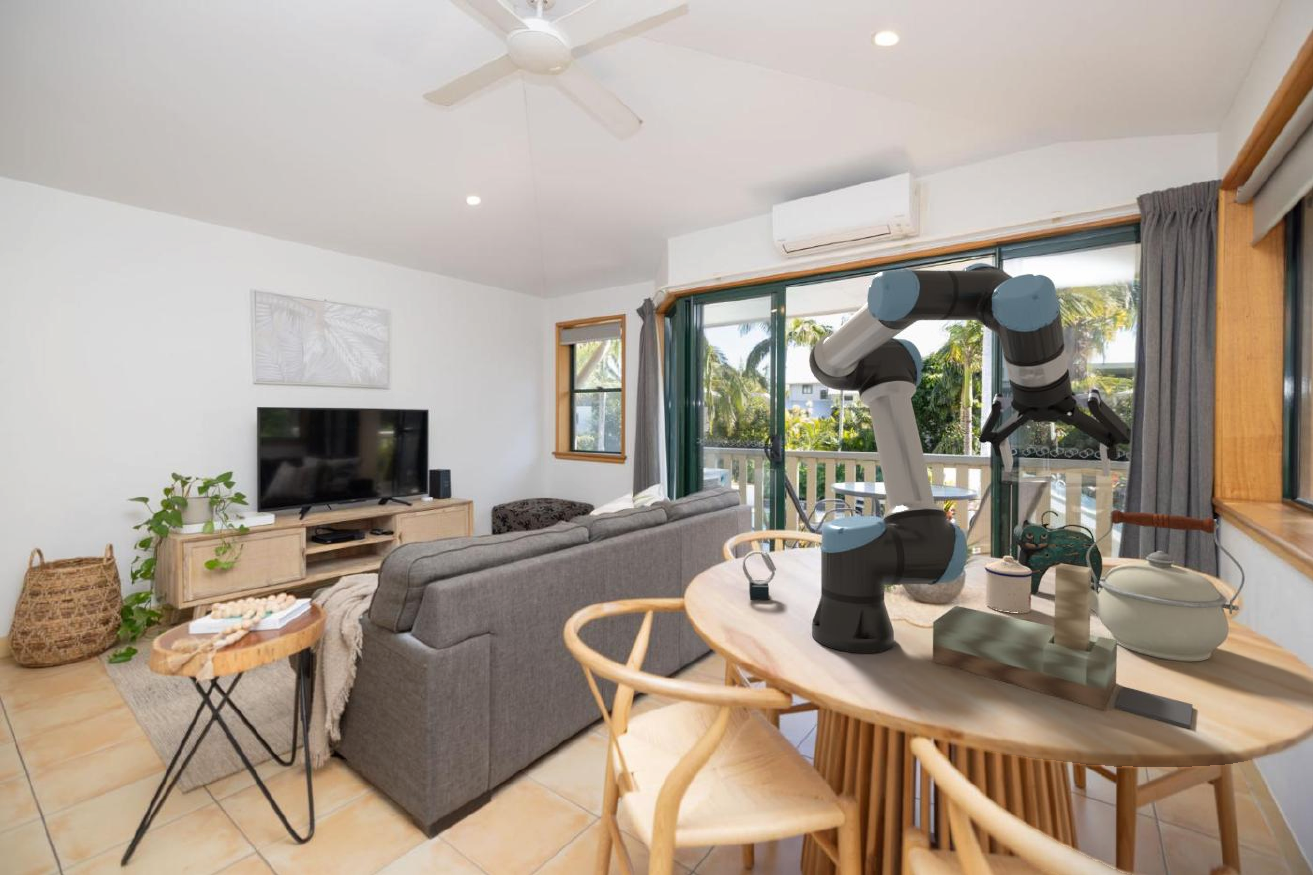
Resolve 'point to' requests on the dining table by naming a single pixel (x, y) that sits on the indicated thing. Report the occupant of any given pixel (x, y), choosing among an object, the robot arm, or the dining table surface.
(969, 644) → the green block with hole
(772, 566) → the watch
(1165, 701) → the rubber mat
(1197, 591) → the kettle
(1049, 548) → the ceramic cat
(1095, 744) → the dining table surface
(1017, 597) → the teacup with lid
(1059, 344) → the robot arm
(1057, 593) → the wooden block
